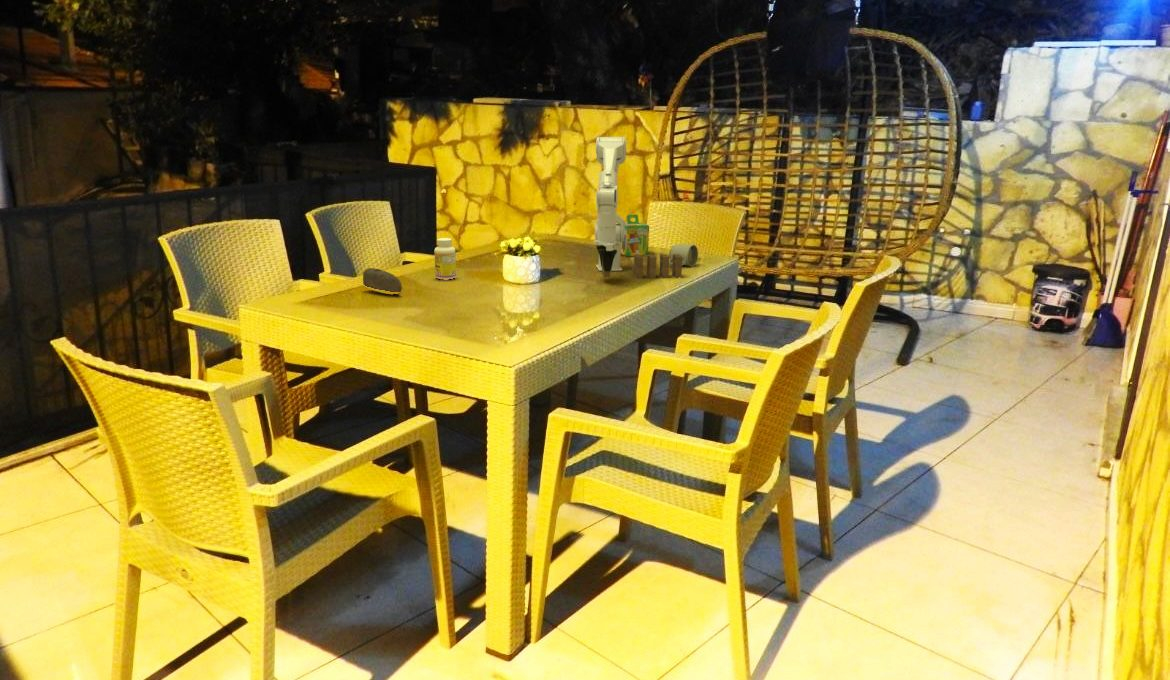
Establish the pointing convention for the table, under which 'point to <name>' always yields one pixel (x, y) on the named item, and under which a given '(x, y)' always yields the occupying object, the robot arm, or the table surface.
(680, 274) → the tile
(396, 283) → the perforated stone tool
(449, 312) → the table surface
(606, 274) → the tile
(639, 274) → the tile
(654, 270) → the tile
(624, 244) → the chalk box
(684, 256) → the grey hollow cylinder
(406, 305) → the table surface
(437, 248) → the supplement bottle
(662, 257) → the tile
